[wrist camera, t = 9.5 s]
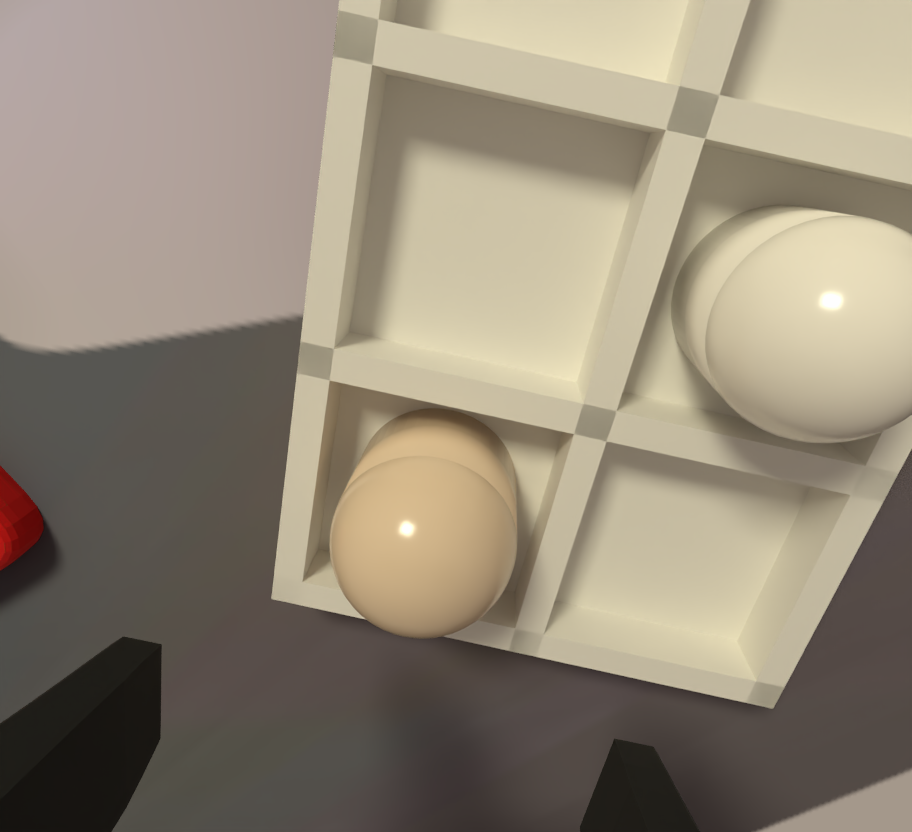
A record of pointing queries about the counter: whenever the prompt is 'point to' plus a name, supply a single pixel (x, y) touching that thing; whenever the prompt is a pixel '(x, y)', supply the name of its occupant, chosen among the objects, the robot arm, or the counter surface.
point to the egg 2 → (802, 321)
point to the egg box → (594, 306)
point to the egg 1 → (427, 525)
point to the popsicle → (16, 520)
